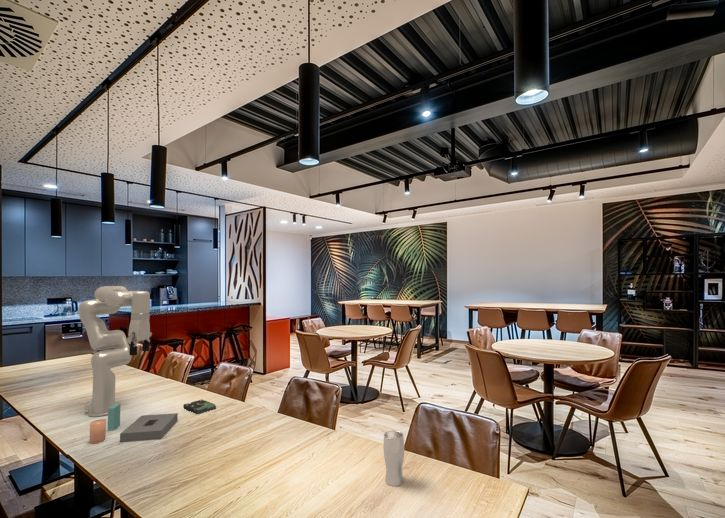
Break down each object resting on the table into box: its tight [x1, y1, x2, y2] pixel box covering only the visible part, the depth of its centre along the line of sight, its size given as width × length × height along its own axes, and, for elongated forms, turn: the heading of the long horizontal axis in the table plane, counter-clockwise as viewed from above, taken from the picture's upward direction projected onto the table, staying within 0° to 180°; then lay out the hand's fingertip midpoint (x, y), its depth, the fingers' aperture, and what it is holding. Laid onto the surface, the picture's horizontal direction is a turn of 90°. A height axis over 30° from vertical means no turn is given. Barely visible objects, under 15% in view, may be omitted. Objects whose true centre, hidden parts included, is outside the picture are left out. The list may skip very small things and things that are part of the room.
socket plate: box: [119, 412, 179, 443], centre depth 160 cm, size 16×20×4 cm
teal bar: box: [107, 403, 121, 432], centre depth 163 cm, size 2×6×10 cm, turn 9°
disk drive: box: [183, 398, 217, 415], centre depth 186 cm, size 10×3×15 cm
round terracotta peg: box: [89, 418, 107, 445], centre depth 150 cm, size 6×6×8 cm
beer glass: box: [382, 430, 405, 487], centre depth 118 cm, size 7×7×15 cm
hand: (139, 353), depth 169 cm, fingers open, 9 cm apart
